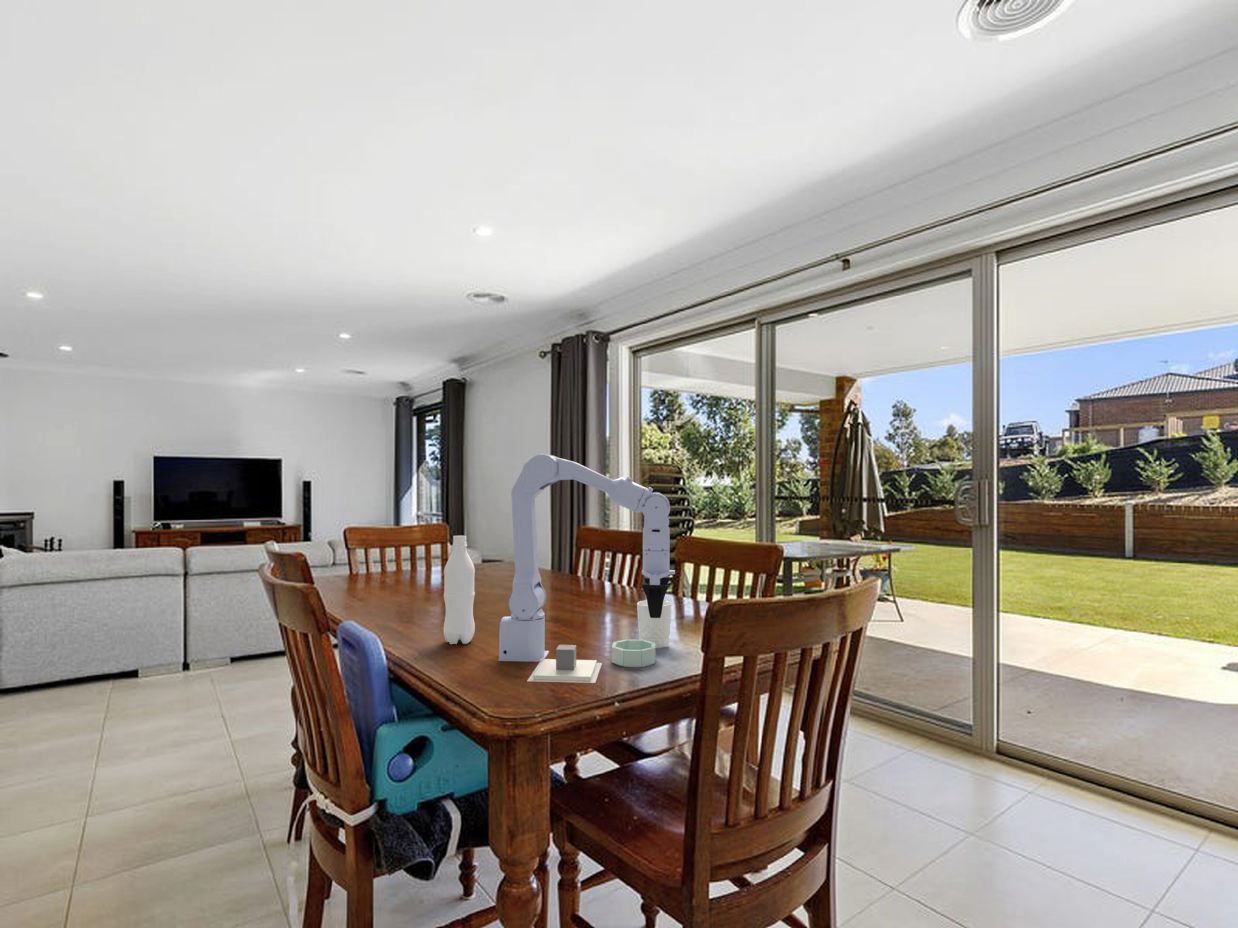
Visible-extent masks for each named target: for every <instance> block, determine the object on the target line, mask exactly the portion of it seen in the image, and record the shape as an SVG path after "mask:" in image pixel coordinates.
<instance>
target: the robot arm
mask: <svg viewBox="0 0 1238 928" xmlns="http://www.w3.org/2000/svg"><path fill="white" fill-rule="evenodd" d="M568 480H570V481H571V480H574V481H577V482H579V483H582V484H585V485H587V486H589V487H591V488H595V489H597V490H599V491H602V492H604V493H606V494H608V497H609V500H610V502H611V503H614V504H616V505H618V506H620V507H622V508H625V509H627V510H629V511H632V512H634V513H636V514H638V513H642V514H643V519H644V520H643V528H642V570H641V575H643V576H644V577H643V580H644V582H641V589H642V591H643V592H644V595H645V598H646V599H645V600H647V603H648V610H649V615H650V618H660V617H661V613H662V607H663V601H665V598H666V597H665V596H666V594H667V592H668V590H669V588H670V584H668V583H669V582H670V579H671V576H670V575H675V574H676V569H670V565H671V564H670V553H671V551H670V549H671V548H670V547H671V546H670V545H671V544H670V543H671V542H670V541H671V540H670V536H671V534H670V533H671V532H670V531H671V529H670V527H669V525H670V519H669V515H670V512H671V507H670V506H671V504H670V501H669V499H668V498H667V496H665V495H664V494H662V493H661V492H657V491H654V492H653V490H654V488H652V487H650V486H649V487H648V488H647V487H645V486H643V485H641V484H640V483H639V484H638V483H636V482H634V479H633V478H631V477H629V476H627V477H626V478H625V477H623V476H621V477H619V478H616V479H612V478H609V477H608V476H605V475H603V474H601V473H599V472H597V471H595V470H592V469H591V468H588V467H587V466H585V465H582V464H581V463H578V462H576V461H572V460H568V459H565V458H560V457H558V456H555V455H552V454H545V453H540V454H536V455H534V456H533V457H532V458H530V459H529V460H528V461H527V462H526V463H524V464H523V466H522V470H521V472H520V474H519V476H518V477H517V479H516V482H515V483H514V485H513V487H512V488H511V494H510V495H511V510H512V511H511V512H512V533H513V534H512V535H513V552H514V553H513V555H514V577H513V580H512V592H511V595H510V597H509V600H508V607H509V610H510V612H511V614H510V616H507V615H506V616H503V617H502V618H501V620H500V623H499V630H498V631H499V634H498V636H499V643H498V644H499V648H498V652H499V653H498V655H499V656H498V661H499V662H500V661H501V662H536V663H537V662H538V663H540V661H541V662H542V661H543V660H544V659H546V657H547V656H548V655H549V653H550V651H549V650H545V642H546V641H545V639H546V638H545V637H546V636H545V635H546V634H545V631H546V630H545V629H546V628H545V626H546V624H545V623H546V622H545V620H546V619H545V618H546V616H545V615H546V614H545V612H544V610H543V608H542V607H543V606H544V605H545V603H546V601H547V592H546V589H545V588H544V587H543V584H542V576H541V573H540V571H539V570H540V569H539V561H538V560H539V559H538V558H539V557H538V555H539V554H538V536H537V534H538V533H537V518H536V516H537V515H536V498H537V497H538V496H539V495H540V494H541V493H542V492H543V491H544V490H545V489H546V488H548V487H550V486H551V485H553V484H555V483H557V482H558V481H568Z"/></svg>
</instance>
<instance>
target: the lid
mask: <svg viewBox="0 0 1238 928" xmlns="http://www.w3.org/2000/svg"><path fill="white" fill-rule="evenodd" d="M597 663H598V660H597V659H595V660H594V659H577V645H576V644H559V645H557V647H556V649H555V658H554V659H552V658H545V659H544V660H543V661H542V663H541V664H540V666H539V667H538V669H537V670H536V672H535V673H534V675H533V680H572V681H591V678H592V676H593V673H594V670H595V668H596V665H597Z"/></svg>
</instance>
